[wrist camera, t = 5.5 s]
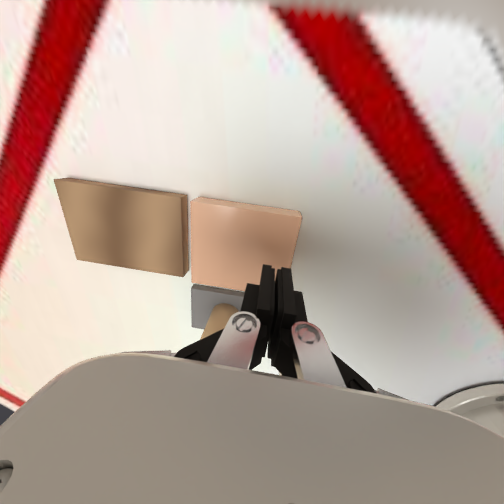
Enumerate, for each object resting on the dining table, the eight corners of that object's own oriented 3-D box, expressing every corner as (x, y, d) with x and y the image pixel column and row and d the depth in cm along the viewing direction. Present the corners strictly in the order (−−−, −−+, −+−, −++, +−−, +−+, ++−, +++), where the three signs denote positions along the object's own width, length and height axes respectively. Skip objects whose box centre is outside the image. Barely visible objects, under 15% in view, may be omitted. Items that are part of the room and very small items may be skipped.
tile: (302, 217, 14) (190, 201, 15) (283, 297, 17) (191, 282, 18) (299, 209, 16) (200, 196, 16) (282, 283, 19) (199, 269, 19)
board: (187, 194, 16) (180, 197, 15) (188, 270, 19) (183, 277, 18) (68, 177, 17) (53, 179, 16) (87, 254, 20) (77, 259, 19)
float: (264, 295, 20) (258, 372, 13) (258, 332, 22) (249, 416, 15) (194, 283, 20) (149, 352, 13) (194, 321, 22) (156, 398, 15)
